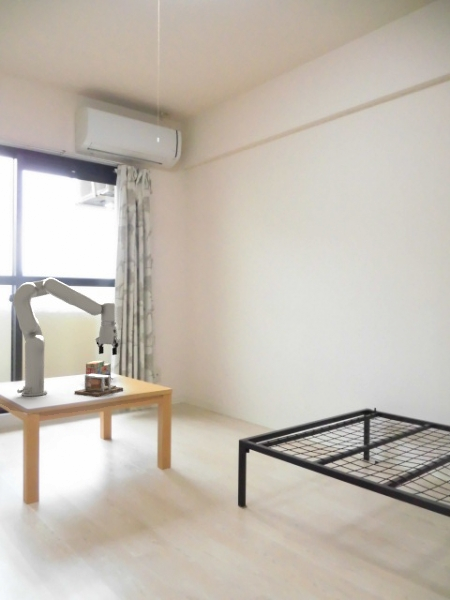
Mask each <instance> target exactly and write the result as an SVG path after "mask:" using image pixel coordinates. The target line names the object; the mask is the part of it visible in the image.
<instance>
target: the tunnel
mask: <svg viewBox="0 0 450 600" xmlns="http://www.w3.org/2000/svg"><path fill="white" fill-rule="evenodd" d="M93 378H101V379H102V390H101V392H104V384H105V380H104V378H108V390H110V385H111V379H112V377H111V376H109V375H99V374H89V375H86V374H85V375H84V389H85V390H87V388H89V387H91V379H93Z"/></svg>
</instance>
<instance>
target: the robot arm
mask: <svg viewBox="0 0 450 600" xmlns="http://www.w3.org/2000/svg"><path fill="white" fill-rule="evenodd" d="M47 295H51V296H53V297H55V298H57V299H58V300H60V301H62V302H64V303H67V304H68V305H71V306H74V307H76V308H78V309H80V310H82V311H84V312H86V313H87V314H89V315H91V316H99V315H100V327H99V332H98V333H99V335H98V337H96V338H95V340H94V341H95V343H96V345H97V347H98V354H99V355H103V354H104V352H105V351H104V345H111V346H112V348H111V351H112V353H111V354H112V356H116V355H118V348H119V346H120V344H121V339H120V338H118V331H117V326H115V325H116V324H117V322H116V321H115V319H116V313H115V312H116V308H115V307H116V305H115V303H114V302H113V301H109V302H108V301H106V302H99V301H96V300H94V299H92V298H91V297H88V296H86V295H85V294H83V293H81V292H80V291H78V290H76V288H73V287H71V286H69V285H68V284H65V283H64V282H62V281H59V280H58V279H56V278H54V277H47V278H46V279H42V280H36V281H32V282H29V281H28V282H25V283H22V284H21V285H20V286H19V287H18V288H17V289H16V290H15V293H14V294H13V300H12V301H13V302H12V303H13V307H14V311H15V314H16V318H17V322H18V324H19V329H20V331H21V332H22V336H23V338H24V342H25V344H24V386H23V388H20V389H19V388H18V389H17V390H16V392H17V394H21V395H22V396H25V397H37V396H43V395H47V393H48V391H47V390H45V346H46V345H45V344H46V343H45V342H46V341H45V339H44V334H43V332H42V329H41V326H40V323H39V319H37V318H36V315H35V312H34V309H33V306H32V303H31V302H32V299H33V298H39V297H42V296H47Z"/></svg>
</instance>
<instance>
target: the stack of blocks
mask: <svg viewBox="0 0 450 600" xmlns="http://www.w3.org/2000/svg"><path fill="white" fill-rule="evenodd" d="M111 367H112V366H111V363H105V361H104V360H93V361H90V362H86V363H85V375H89V374H99V375H105V373H110V376H111V375H112V373H111V372H112V371H111V370H112V369H111ZM104 381H105V378H104Z"/></svg>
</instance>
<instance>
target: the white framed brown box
mask: <svg viewBox="0 0 450 600" xmlns="http://www.w3.org/2000/svg"><path fill="white" fill-rule="evenodd" d="M105 375H109V376H110V373H105ZM114 387H117V386H116V385H113V384H112V385H111V384H110V388H114ZM87 389H88V390H96V391H101V390H102V379H101V378H93V379H91V387H89V388H87ZM106 389H108V378H105V380H104V390H106Z"/></svg>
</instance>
